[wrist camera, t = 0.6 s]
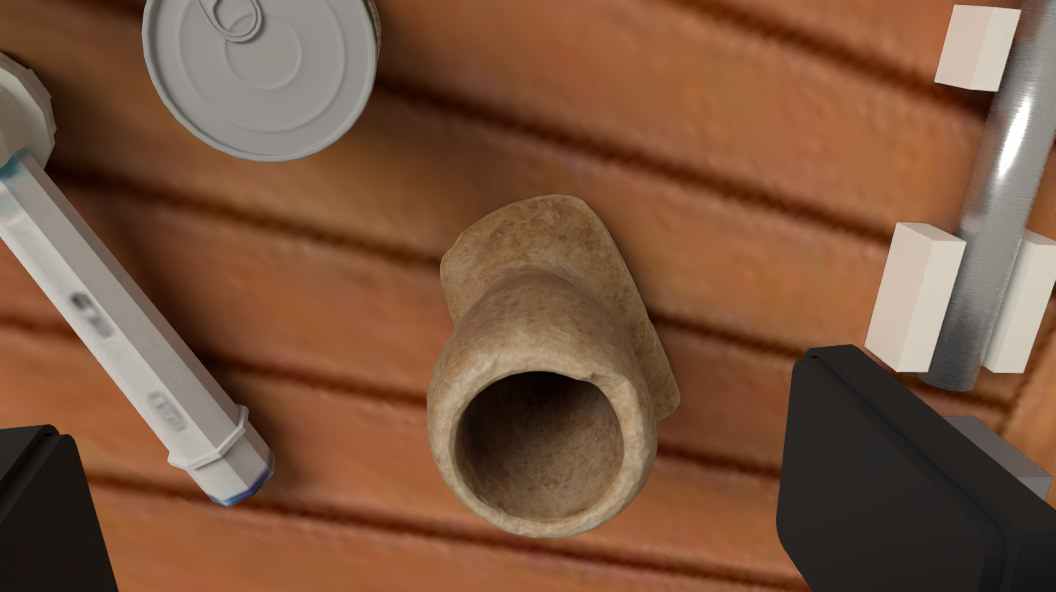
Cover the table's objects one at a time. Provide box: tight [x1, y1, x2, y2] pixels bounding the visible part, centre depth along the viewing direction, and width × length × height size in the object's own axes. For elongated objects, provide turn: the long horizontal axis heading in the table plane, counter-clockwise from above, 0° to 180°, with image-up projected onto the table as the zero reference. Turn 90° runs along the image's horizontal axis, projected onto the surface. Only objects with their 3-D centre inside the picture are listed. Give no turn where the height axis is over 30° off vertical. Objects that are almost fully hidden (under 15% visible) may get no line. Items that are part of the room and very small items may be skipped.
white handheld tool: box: [0, 52, 275, 507], centre depth 39 cm, size 5×7×25 cm
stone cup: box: [427, 194, 681, 538], centre depth 39 cm, size 15×12×15 cm
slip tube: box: [914, 0, 1056, 391], centre depth 45 cm, size 24×4×4 cm, turn 175°
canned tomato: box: [142, 0, 381, 163], centre depth 33 cm, size 8×8×11 cm
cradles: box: [864, 5, 1056, 373], centre depth 45 cm, size 20×8×4 cm, turn 175°
